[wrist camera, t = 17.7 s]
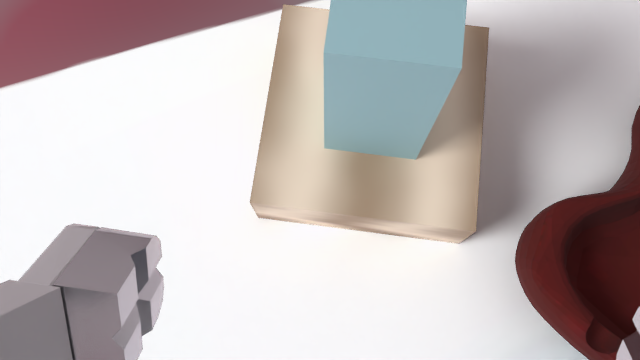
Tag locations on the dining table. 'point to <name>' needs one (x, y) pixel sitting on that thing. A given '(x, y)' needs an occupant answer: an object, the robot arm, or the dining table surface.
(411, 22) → the teal block
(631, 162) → the ashtray
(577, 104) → the dining table surface
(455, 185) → the plinth
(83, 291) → the robot arm
